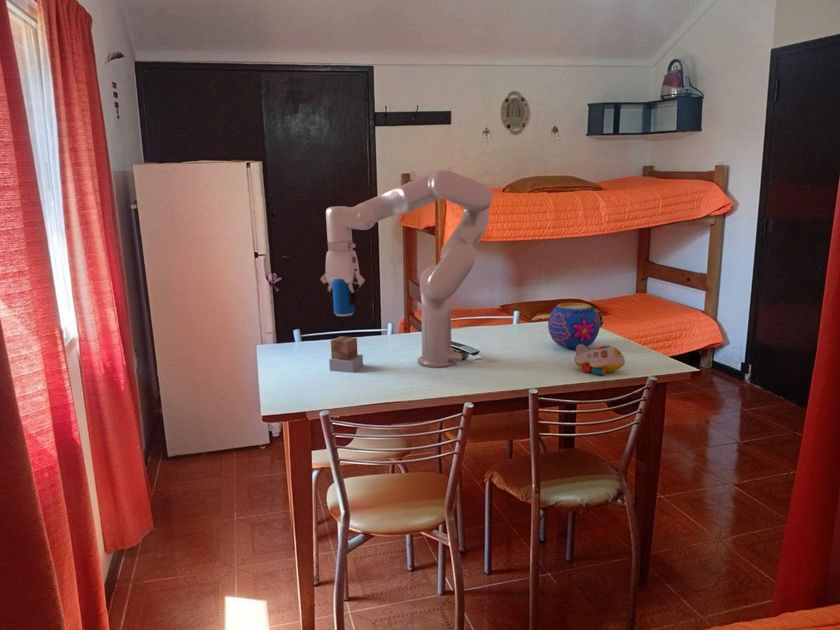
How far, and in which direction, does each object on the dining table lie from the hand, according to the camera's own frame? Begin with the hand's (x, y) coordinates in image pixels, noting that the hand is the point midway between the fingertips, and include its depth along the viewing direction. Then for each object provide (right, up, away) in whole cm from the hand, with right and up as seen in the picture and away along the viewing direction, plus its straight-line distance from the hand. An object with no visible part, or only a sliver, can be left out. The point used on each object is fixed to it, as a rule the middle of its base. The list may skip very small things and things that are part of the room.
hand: (343, 303), depth 211 cm
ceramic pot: (+78, -15, +24) cm, 83 cm away
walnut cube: (0, -17, +3) cm, 18 cm away
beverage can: (0, -4, +1) cm, 4 cm away
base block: (0, -21, +4) cm, 22 cm away
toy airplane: (+79, -21, -4) cm, 82 cm away
